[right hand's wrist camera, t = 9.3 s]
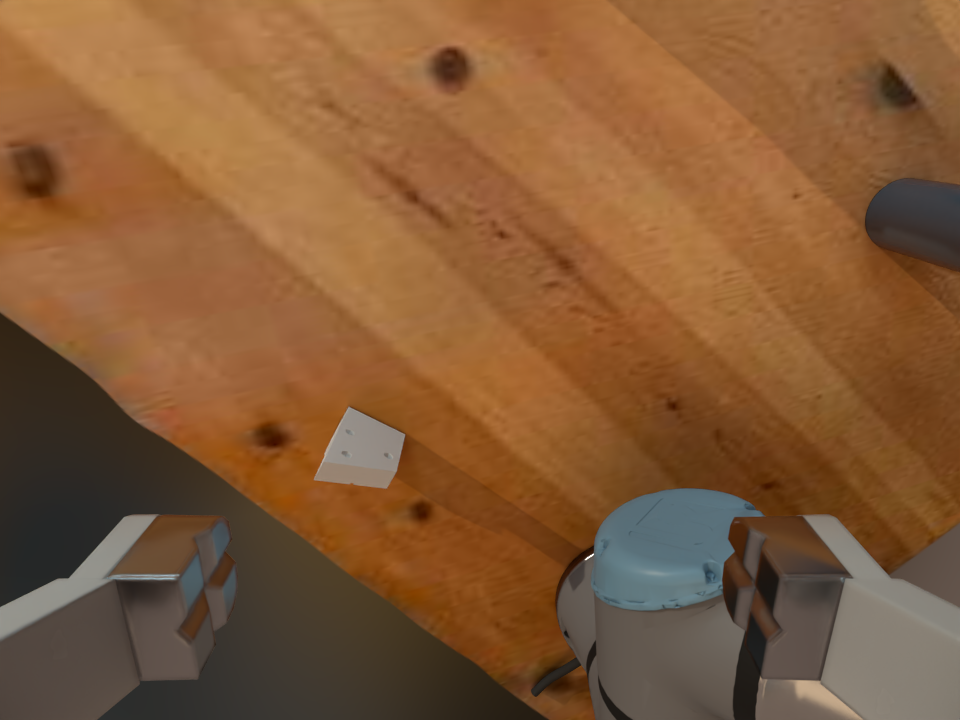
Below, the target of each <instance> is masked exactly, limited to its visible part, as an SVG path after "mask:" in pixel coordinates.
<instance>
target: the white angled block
mask: <svg viewBox="0 0 960 720" xmlns="http://www.w3.org/2000/svg"><path fill="white" fill-rule="evenodd" d="M404 438H405V434H403V433H401V432H399V431H397V430H395V429H393V428H391V427H389V426H387V425H385V424H383V423H381V422H379V421H377V420H375V419H373V418H371V417H369V416H367V415H365V414H363V413H361V412H359V411H356V410H354V409H352V408H350V407H348V409H347V411H346V413H345V415H344V416H343V418H342V420H341V422H340V424H339V426H338V428H337V430H336V431H335V433H334V435H333V437H332V439H331V441H330V443H329V445H328V448H327V450H326V452H325V454H324V455H325V457H324V459H323V461H322V463H321V465H320V467H319V470H318V472H317V474H316V476H315V478H314V480H318V481H327V482H335V483H344V484H350V483H354V485H361V486H369V487H378V488H386V489H387V487H388V486H389V484H390V482H391V480H392V479H393V477H394V475H395V474H396V472H397V468H398V463H399V459H400V455H401V451H402V447H403V442H404Z"/></svg>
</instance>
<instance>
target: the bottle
mask: <svg viewBox="0 0 960 720" xmlns="http://www.w3.org/2000/svg"><path fill="white" fill-rule="evenodd" d="M865 223H866V230H867V233H868V235H869V237H870V239H871V240H872V241H873V242H874V243H875V244H876V245H878V246H879V247H881V248H884V249H887V250H890V251H893V252H896V253H900V254H903V255H906V256H909V257H912V258H915V259H919V260H922V261H925V262H928V263H931V264H934V265H938V266H941V267H944V268H947V269H950V270H953V271H957V272H960V185H959V184H952V183H944V182H937V181H929V180H922V179H914V178H905V179H900V180H897V181H894V182H892V183H890V184H888V185H887V186H885V187H884V188H883V189H882V190H880V191H879V192H878V193H877V194H876V196H875V197H874V198H873V200H872V201H871V203H870V205H869V207H868V210H867V214H866V221H865Z"/></svg>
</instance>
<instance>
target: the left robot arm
mask: <svg viewBox="0 0 960 720" xmlns="http://www.w3.org/2000/svg"><path fill="white" fill-rule="evenodd" d="M762 516H764V515H763V513H762V512H760V511H757V510H756V509H755V507H754V506H753V505H752V504H751V503H749V502H747V501H745V500H744V499H741V498H739V497H737V496H734V495H731V494H727V493H724V492H719V491H714V490H707V489H694V488H683V489H670V490H663V491H660V492H656V493H652V494H646V495H643V496H640V497H637V498H635V499H633V500H631V501H629V502H626V503H625V504H623V505H621V506H620V507H618V508H617V509H615V510H614V511H613V512H612V513H611V514H610V515H609V516H608V517H607V518H606V519H605V520H604V521H603V523H602V524H601V526H600V528H599V530H598V532H597V534H596V538H595V543H594V546H593V547H591V548H589V549H588V550H586V551H585V552H583V553H582V554H581V555H579V556H578V557H577V558H576V559H575V560H574V561H573V562H572V563H571V564H570V565H569V566H568V568H567V569H566V570H565V572H564V574H563V575H562V577H561V579H560V582H559V584H558V587H557V592H556V600H555V601H556V611H557V617H558V623H559V626H560V629H561V631H562V634H563V636H564V638H565V640H566V642H567V643H568V645H569V646H570V648H571V649H572V650H573V651H574V653H575V655H576V658H574V659H573V660H571V661H570V662H568V663H567V664H565V665H563V666H562V667H560V668H558V669H556V670H554V671H553V672H551V673H550V674H548V675H547V676H545V677H544V678H543V679H542V680H541V681H540V682H539V683H538V684H537V685H536V686H535V687H534V688H533V689H532V690H531V692H532V694H533V695H534V696H535V697H537V696H538V695H539V694H540V693H541V692H542V691H543V690H544V689H545V688H546V687H547V686H548V685H549V684H551V683H552V682H554V681H555V680H557V679H559V678H561V677H562V676H564V675H566V674H568V673H569V672H571V671H573V670H574V669H576V668H577V667H579V666H581V665H582V667H583V668H584V670H585V671H586V673H587V677H588V682H589V688H590V693H591V698H592V703H593V708H594V714H595V719H596V720H863V719H862V718H861V717H860V716H858V715H857V714H856V713H855V712H854V711H852V710H851V709H850V708H849V707H848V706H846V705H845V704H844V703H843V702H842V701H840V700H839V699H838V698H837V697H836V696H834V695H833V694H832V693H831V692H830V691H828V690H827V689H826V688H825V687H824V686H822V685H821V684H820V682H821V681H808V680H772V679H762V678H761V676H760V674H759V672H758V670H757V668H756V666H755V664H754V663H753V661H752V659H751V657H750V655H749V653H748V651H747V649H746V647H745V645H744V643H745V637H746V631H744V630H743V629H742V628H740V627H739V626H737V625H736V624H735V623H733V621H732V619H731V617H730V615H729V613H728V611H727V607H726V604H725V601H724V596H723V586H722V576H723V567H724V562H725V561H726V560H727V559H728V558H729V557H730V556H731V555H732V554H733V553H734V552H735V551H734V549H733V547H732V545H731V544H730V542H729V540H728V535H729V529H730V525H731V523H732V521H733V519H734V517H762Z"/></svg>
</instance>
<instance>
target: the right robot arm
mask: <svg viewBox="0 0 960 720" xmlns="http://www.w3.org/2000/svg"><path fill="white" fill-rule="evenodd" d="M231 540H232V535H231V530H230V526H229V521H228V520H227V519H226V518H225V517H224V516H195V515H162V516H161V515H130V516H127V517H124V518H123V519H122V520H121V522H119V524H118V525H117V526H116V527H115V528H114V529H113V530H112V531H111V532H110V534H109V535H108V536H107V537H106V538H105V539H104V540H103V541H102V542H101V544H100V545H99V546H98V547H97V548H96V549H95V550H94V551H93V552H92V554H91V555H90V556H89V557H88V558H87V559H86V560H85V561H84V562H83V563H82V564H81V566H80V567H79V568H78V569H77V570H76V571H75V572H74V573H73V574H72V576H71V577H70V578H69V579H57V580H55V581H53V582H51V583H49V584H47V585H45V586H43V587H41V588H39V589H37V590H35V591H33V592H31V593H28V594H26V595H24V596H22V597H20V598H18V599H16V600H14V601H12V602H10V603H8V604H6V605H4V606H2V607H0V720H97V719H98V718H99V717H101V716H102V715H103V714H104V713H105V712H107V711H108V710H109V709H110V708H111V707H113V706H114V705H115V704H116V703H117V702H119V701H120V700H121V699H122V698H123V697H125V696H126V695H127V694H128V693H129V692H131V691H132V690H133V689H134V688H135V687H137V686H138V685H139V684H140V682H139V681H152V680H186V679H198V678H199V676H200V674H201V672H202V670H203V668H204V666H205V664H206V663H207V661H208V659H209V657H210V655H211V653H212V651H213V649H214V647H215V645H216V643H215V637H214V631H216V630H217V629H218V628H220V627H221V626H223V625H224V624H226V623H227V621H228V619H229V617H230V615H231V613H232V610H233V608H234V604H235V599H236V595H237V589H238V574H237V567H236V562H235V561H234V560H233V559H232V558H231V557H230V556H229V555H228V554H227V553H226V552H225V550H226V549H227V547H228V545H229V544H230V542H231ZM728 540H729V542H730V544H731V545H732V547H733V549H734V551H735V552H734V553H733V554H732V555H731V556H730V557H729V558H728V559H727V560H726V561H725V562H724V567H723V576H722V586H723V596H724V601H725V604H726V607H727V611H728V613H729V615H730V617H731V619H732V621H733V623H735V624H736V625H737V626H739V627H740V628H742V629H743V630H744V631H746V637H745V643H744V645H745V647H746V649H747V651H748V653H749V655H750V657H751V659H752V661H753V663H754V664H755V666H756V668H757V670H758V672H759V674H760V676H761V678H762V679H772V680H808V681H821V682H820V684H821V685H822V686H824V687H825V688H826V689H827V690H828V691H830V692H831V693H832V694H833V695H834V696H836V697H837V698H838V699H839V700H840V701H842V702H843V703H844V704H845V705H846V706H848V707H849V708H850V709H851V710H852V711H854V712H855V713H856V714H857V715H858V716H860V717H861V718H862V719H863V720H960V607H958V606H956V605H954V604H952V603H950V602H948V601H946V600H944V599H942V598H940V597H938V596H936V595H933V594H932V593H930V592H927V591H925V590H923V589H921V588H919V587H917V586H915V585H913V584H911V583H909V582H907V581H905V580H903V579H891V578H890V577H889V576H888V574H887V573H886V572H885V571H884V570H883V569H882V568H881V567H880V566H879V564H878V563H877V562H876V561H875V560H874V559H873V558H872V557H871V556H870V555H869V553H868V552H867V551H866V550H865V549H864V548H863V547H862V546H861V545H860V543H859V542H858V541H857V540H856V539H855V538H854V537H853V536H852V535H851V534H850V532H849V531H848V530H847V529H846V528H845V527H844V526H843V525H842V524H841V522H840V521H839V520H838V519H837V518H835V517H833V516H831V515H829V514H821V515H797V516H762V517H734V519H733V521H732V523H731V525H730V529H729V535H728Z"/></svg>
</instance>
